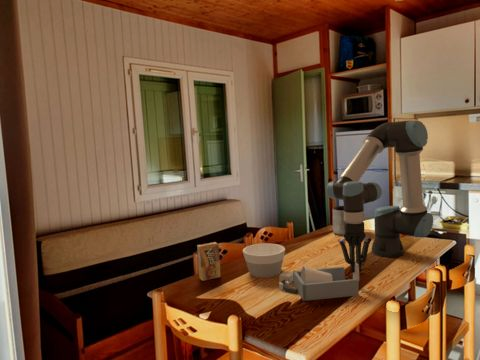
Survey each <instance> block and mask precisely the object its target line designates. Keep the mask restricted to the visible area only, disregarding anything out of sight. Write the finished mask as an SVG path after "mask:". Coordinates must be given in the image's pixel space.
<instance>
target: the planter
mask: <svg viewBox="0 0 480 360" xmlns="http://www.w3.org/2000/svg"><path fill="white" fill-rule="evenodd" d="M344 222H345V221H344V205H337V206H334V207H332V232H333V234H335V235H338V236H341V237H342V236H343V237H344V234H345V231H344Z"/></svg>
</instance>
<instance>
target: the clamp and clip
mask: <svg viewBox="0 0 480 360" xmlns="http://www.w3.org/2000/svg"><path fill="white" fill-rule="evenodd" d="M278 276H279V282H278V289H280V291H284V289H283V283H281V282H282V281H283V280H287V281H285V284H286V285H287V286H288V287H291V285H290V284H291V283H293V272H288V271H283V272H282V273H280V274H279V275H278Z"/></svg>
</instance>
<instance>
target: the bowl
mask: <svg viewBox="0 0 480 360" xmlns="http://www.w3.org/2000/svg"><path fill="white" fill-rule="evenodd" d="M242 254H243V256H244V259H245V263H246V266H247V269H248V272H249V275H250V276H252V277H254V278H259V277H260V278H264V279H266V278H267V279H268V278H273V277H276V276H279V275H280V274H281V271H282V267H283V263H284V259H285V255H286V248H285V246H284V245H281V244H277V243H257V244H255V243H254V244H252V245H251V244H250V245H247V246H245V247H243V249H242Z"/></svg>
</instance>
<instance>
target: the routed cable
mask: <svg viewBox="0 0 480 360" xmlns="http://www.w3.org/2000/svg"><path fill="white" fill-rule="evenodd" d="M285 281H287V280H283V281H282V282H281V283H283V291H285V292H287V293H291V294H298V289H296V288H295V287H291V286H290V287H288V286H287V285H286V284H285Z"/></svg>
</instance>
